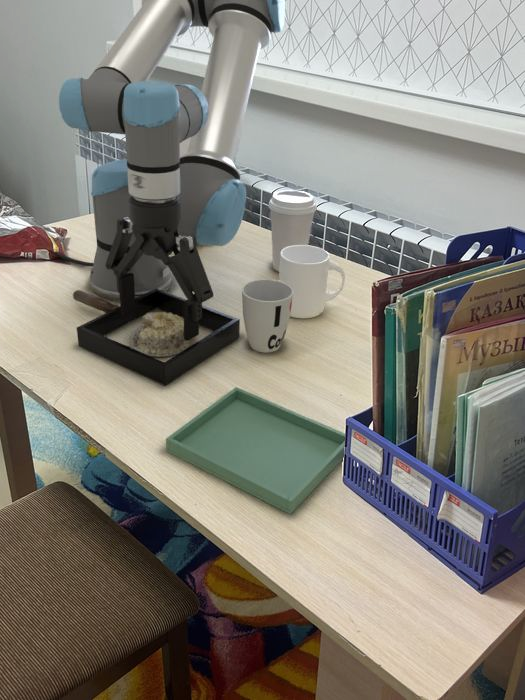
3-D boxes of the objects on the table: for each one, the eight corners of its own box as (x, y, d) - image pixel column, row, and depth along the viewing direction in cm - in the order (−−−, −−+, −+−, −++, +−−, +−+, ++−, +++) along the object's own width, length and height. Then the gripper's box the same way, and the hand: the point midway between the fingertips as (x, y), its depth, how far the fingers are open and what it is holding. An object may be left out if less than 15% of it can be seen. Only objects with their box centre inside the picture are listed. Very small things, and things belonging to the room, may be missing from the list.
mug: (347, 318, 124) (354, 263, 118) (281, 320, 122) (285, 264, 116) (336, 296, 131) (341, 243, 125) (273, 298, 129) (276, 245, 124)
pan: (34, 326, 117) (31, 307, 115) (113, 289, 130) (112, 272, 128) (165, 386, 103) (164, 366, 101) (239, 337, 116) (240, 319, 114)
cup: (273, 362, 110) (276, 306, 104) (230, 347, 113) (231, 292, 108) (298, 341, 116) (302, 287, 110) (257, 328, 119) (259, 275, 114)
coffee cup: (320, 265, 143) (326, 195, 136) (297, 281, 136) (302, 207, 129) (280, 254, 147) (284, 185, 140) (256, 268, 140) (259, 197, 133)
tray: (166, 450, 90) (165, 438, 89) (235, 398, 101) (236, 386, 100) (290, 514, 81) (291, 501, 80) (352, 449, 92) (353, 437, 91)
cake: (188, 328, 119) (190, 300, 116) (192, 359, 111) (195, 330, 108) (129, 326, 117) (130, 298, 114) (129, 358, 109) (130, 328, 106)
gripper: (75, 184, 104) (87, 309, 115) (205, 221, 92) (204, 357, 103) (111, 173, 110) (119, 294, 120) (238, 208, 98) (234, 338, 109)
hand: (158, 324), depth 112 cm, fingers open, 13 cm apart
